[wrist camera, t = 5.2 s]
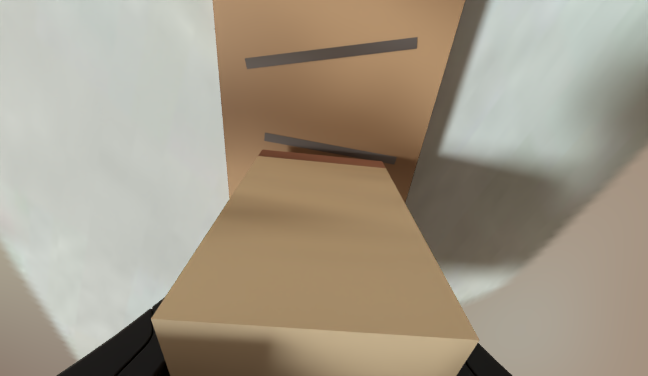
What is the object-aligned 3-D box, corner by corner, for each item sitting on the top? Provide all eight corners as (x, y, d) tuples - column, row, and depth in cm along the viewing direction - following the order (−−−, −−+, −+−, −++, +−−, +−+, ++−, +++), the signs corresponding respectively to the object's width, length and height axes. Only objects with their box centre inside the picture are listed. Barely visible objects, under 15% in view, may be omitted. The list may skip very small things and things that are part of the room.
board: (371, 284, 14) (375, 303, 13) (244, 275, 14) (237, 293, 13) (489, -149, 7) (521, -189, 5) (215, -192, 6) (191, -245, 5)
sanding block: (353, 286, 11) (380, 491, 6) (263, 279, 11) (208, 485, 6) (381, 161, 8) (478, 339, 3) (262, 149, 8) (151, 320, 3)
